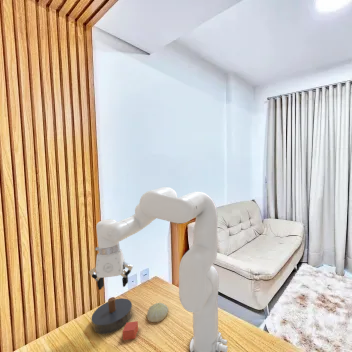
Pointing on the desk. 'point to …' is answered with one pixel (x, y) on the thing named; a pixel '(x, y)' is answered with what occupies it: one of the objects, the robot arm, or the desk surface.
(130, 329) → the block
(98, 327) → the pot
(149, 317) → the sea urchin shell
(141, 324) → the desk surface
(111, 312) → the pot lid
